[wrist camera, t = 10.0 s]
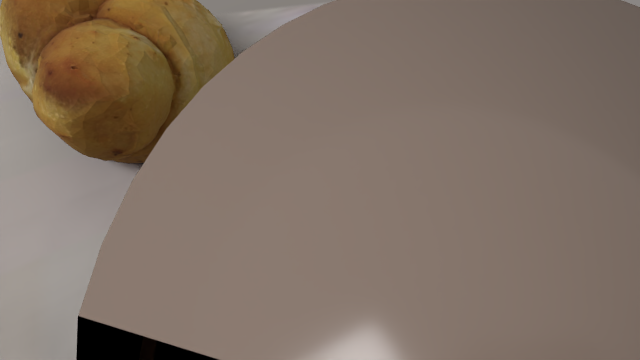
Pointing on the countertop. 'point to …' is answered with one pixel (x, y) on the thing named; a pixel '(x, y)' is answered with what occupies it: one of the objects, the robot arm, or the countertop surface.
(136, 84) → the bread roll
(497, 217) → the jar
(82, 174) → the countertop surface
